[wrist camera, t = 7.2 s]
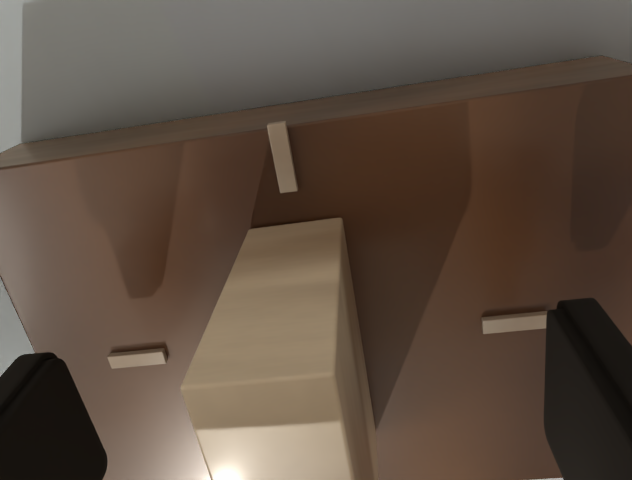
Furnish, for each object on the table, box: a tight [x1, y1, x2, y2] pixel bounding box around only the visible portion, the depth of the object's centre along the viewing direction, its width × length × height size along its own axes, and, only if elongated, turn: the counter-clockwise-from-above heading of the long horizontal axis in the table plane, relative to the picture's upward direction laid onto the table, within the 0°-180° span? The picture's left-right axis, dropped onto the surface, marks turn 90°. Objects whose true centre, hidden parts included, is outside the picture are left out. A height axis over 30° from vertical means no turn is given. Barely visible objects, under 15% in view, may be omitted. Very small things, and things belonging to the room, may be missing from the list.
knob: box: [180, 218, 379, 480], centre depth 10 cm, size 6×2×5 cm, turn 9°
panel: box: [0, 56, 632, 480], centre depth 13 cm, size 14×10×3 cm
